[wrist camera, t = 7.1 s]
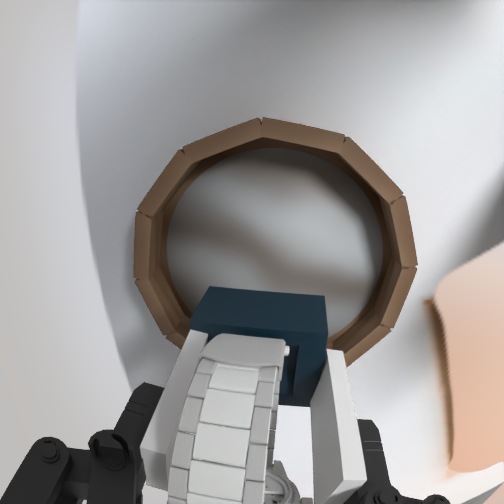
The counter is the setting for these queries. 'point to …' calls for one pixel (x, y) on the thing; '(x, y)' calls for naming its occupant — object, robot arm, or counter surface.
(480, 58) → the counter surface
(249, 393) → the watch
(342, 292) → the round tray
